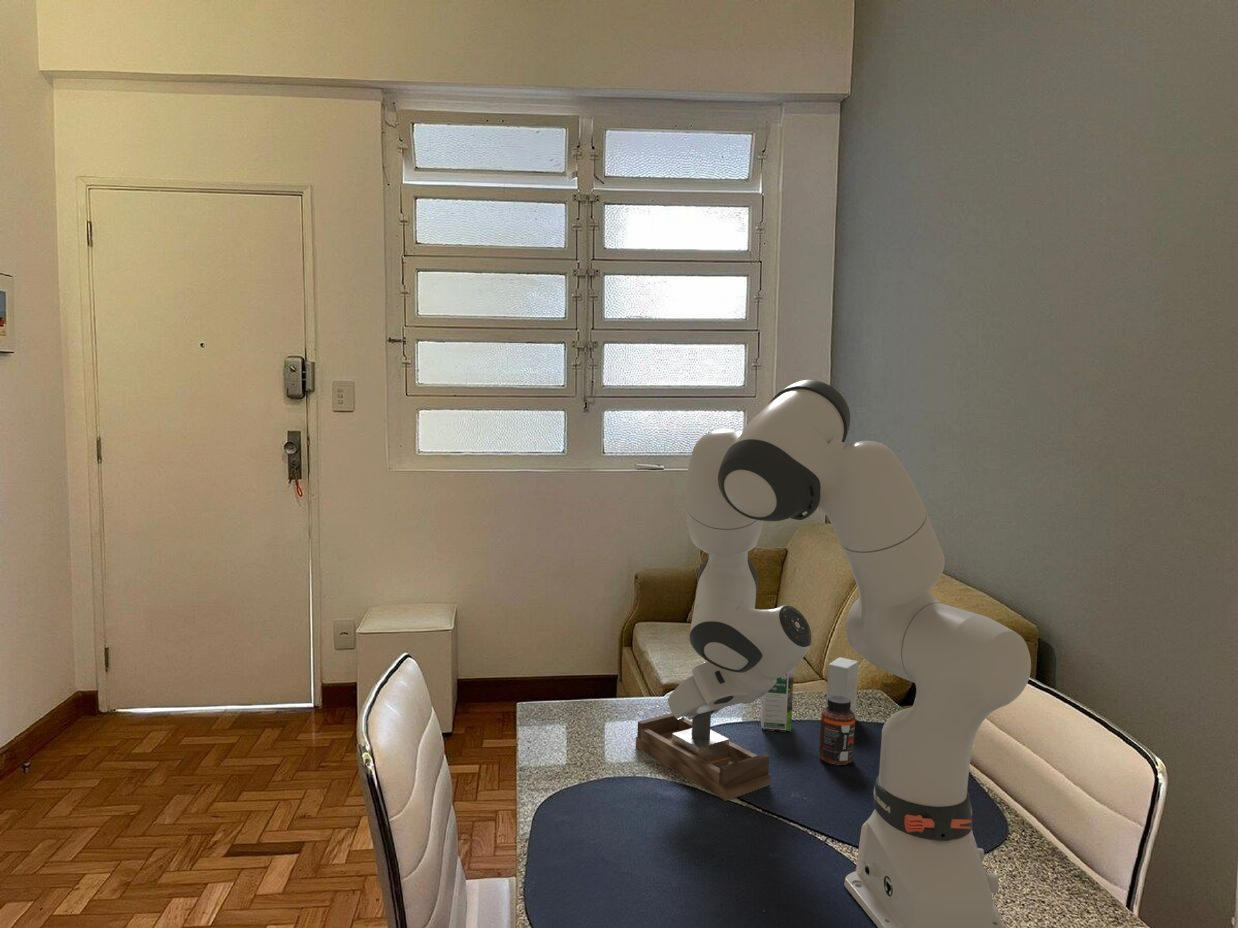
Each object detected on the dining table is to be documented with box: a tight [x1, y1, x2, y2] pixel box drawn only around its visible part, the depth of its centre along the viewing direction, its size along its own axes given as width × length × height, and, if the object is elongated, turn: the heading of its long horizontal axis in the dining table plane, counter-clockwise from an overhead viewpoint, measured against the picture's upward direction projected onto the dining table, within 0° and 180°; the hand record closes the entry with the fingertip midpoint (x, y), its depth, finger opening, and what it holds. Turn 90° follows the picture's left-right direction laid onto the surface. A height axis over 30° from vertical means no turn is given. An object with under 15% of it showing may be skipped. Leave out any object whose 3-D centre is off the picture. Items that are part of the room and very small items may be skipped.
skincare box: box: [825, 656, 859, 717], centre depth 173 cm, size 6×4×12 cm
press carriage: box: [672, 711, 730, 762], centre depth 150 cm, size 7×7×12 cm
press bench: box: [635, 712, 771, 801], centre depth 150 cm, size 24×10×5 cm, turn 36°
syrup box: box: [759, 667, 795, 731], centre depth 169 cm, size 6×6×14 cm
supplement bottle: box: [818, 695, 856, 765], centre depth 154 cm, size 6×6×11 cm
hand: (700, 712), depth 150 cm, fingers open, 3 cm apart
